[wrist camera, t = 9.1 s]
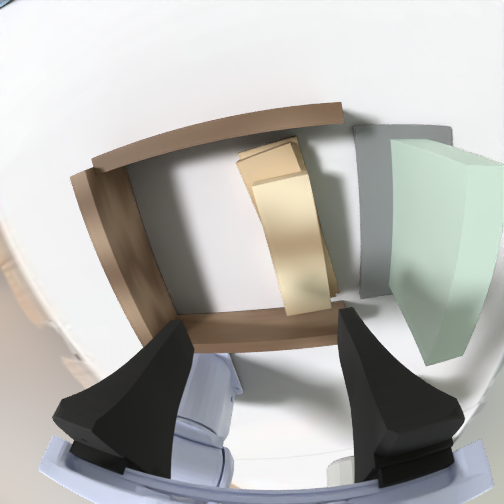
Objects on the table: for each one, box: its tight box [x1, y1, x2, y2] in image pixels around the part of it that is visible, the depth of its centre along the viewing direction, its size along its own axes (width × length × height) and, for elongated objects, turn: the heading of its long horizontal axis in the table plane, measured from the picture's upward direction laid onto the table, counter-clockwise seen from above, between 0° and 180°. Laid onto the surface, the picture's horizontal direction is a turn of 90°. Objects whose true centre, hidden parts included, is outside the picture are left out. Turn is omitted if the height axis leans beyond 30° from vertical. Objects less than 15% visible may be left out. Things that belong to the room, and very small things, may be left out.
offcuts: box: [236, 136, 340, 316], centre depth 19 cm, size 13×4×4 cm, turn 18°
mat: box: [353, 125, 452, 299], centre depth 19 cm, size 14×8×1 cm, turn 10°
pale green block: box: [389, 139, 504, 366], centre depth 14 cm, size 12×3×9 cm, turn 10°
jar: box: [327, 456, 354, 487], centre depth 36 cm, size 10×10×18 cm
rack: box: [70, 102, 345, 353], centre depth 19 cm, size 17×17×5 cm
